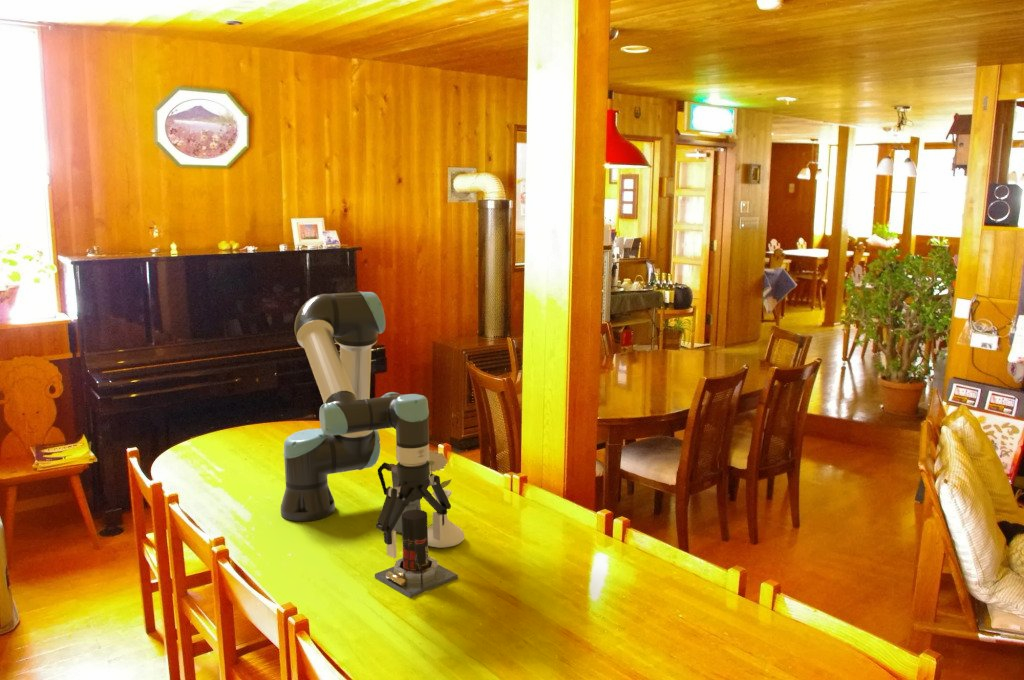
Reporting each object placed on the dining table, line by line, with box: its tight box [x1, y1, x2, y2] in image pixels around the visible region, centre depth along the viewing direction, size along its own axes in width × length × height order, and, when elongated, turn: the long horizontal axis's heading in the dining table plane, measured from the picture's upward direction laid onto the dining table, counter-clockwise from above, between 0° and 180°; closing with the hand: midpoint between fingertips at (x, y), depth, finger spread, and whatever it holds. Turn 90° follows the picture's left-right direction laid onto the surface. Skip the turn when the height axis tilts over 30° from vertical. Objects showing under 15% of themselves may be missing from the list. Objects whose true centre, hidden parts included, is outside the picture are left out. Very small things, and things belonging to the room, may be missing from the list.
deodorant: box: [401, 509, 429, 571], centre depth 196 cm, size 6×6×15 cm
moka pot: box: [377, 462, 431, 534], centre depth 225 cm, size 10×15×20 cm, turn 78°
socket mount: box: [374, 555, 459, 599], centre depth 198 cm, size 14×14×4 cm
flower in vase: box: [427, 449, 466, 549], centre depth 216 cm, size 13×11×25 cm
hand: (415, 547), depth 196 cm, fingers open, 13 cm apart
